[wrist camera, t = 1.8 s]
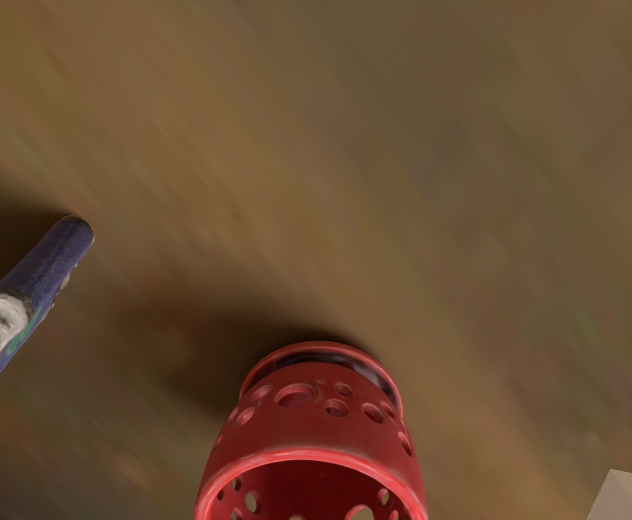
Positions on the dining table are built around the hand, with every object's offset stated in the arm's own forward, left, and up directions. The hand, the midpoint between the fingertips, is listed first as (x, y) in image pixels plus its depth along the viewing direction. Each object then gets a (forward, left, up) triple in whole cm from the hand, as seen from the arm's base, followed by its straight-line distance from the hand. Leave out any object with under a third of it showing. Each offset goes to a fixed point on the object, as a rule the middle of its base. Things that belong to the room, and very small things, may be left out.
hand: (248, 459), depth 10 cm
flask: (+8, -18, -24) cm, 31 cm away
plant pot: (+20, -2, -24) cm, 31 cm away
